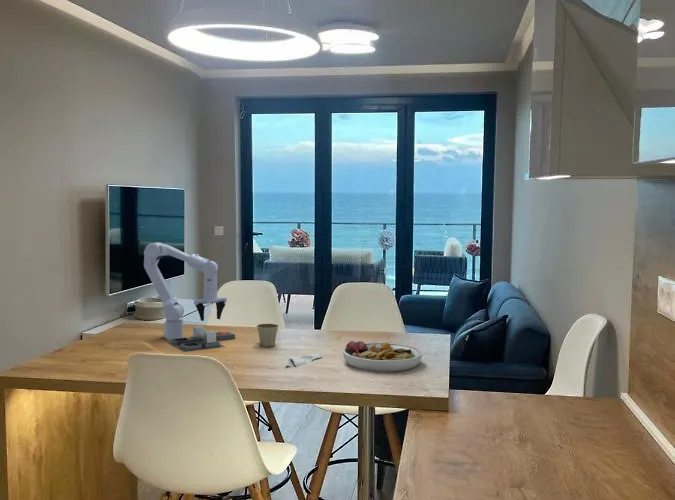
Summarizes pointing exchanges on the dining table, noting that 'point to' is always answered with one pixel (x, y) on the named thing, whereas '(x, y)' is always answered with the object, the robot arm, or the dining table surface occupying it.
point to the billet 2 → (209, 337)
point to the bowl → (381, 356)
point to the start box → (225, 336)
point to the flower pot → (267, 334)
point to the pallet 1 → (183, 341)
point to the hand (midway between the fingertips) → (210, 319)
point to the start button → (222, 332)
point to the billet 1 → (198, 332)
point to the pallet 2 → (198, 346)
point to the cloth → (302, 360)
